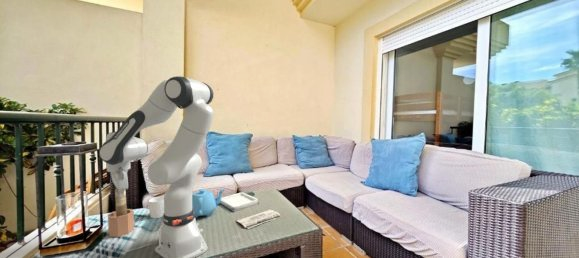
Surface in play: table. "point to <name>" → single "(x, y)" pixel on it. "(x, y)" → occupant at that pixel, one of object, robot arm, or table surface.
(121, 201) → the dowel
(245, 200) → the tray
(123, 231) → the pot
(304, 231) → the table surface
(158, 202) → the white cup
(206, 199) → the teapot
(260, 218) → the newspaper
